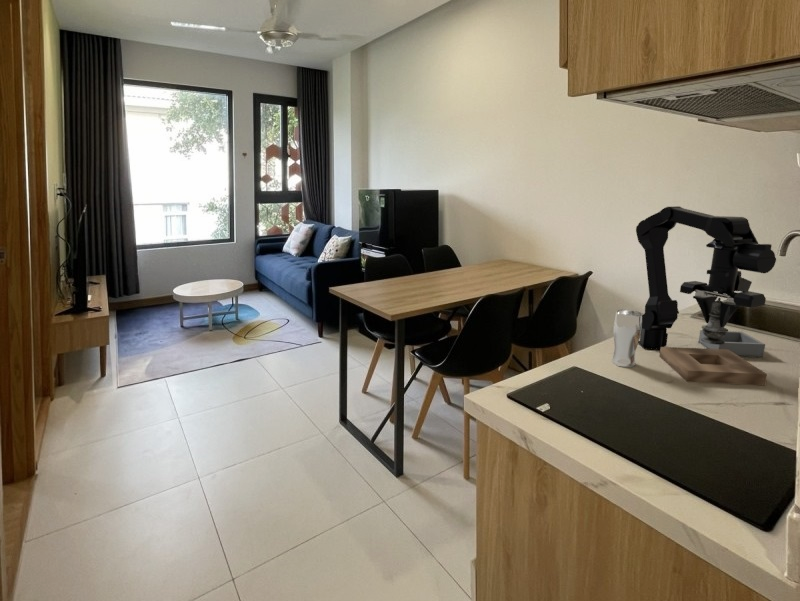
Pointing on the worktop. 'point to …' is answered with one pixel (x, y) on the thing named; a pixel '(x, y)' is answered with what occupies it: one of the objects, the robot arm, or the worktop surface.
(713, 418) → the worktop surface
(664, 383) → the worktop surface
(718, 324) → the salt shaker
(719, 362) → the socket block
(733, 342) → the bin
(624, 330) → the beer glass
